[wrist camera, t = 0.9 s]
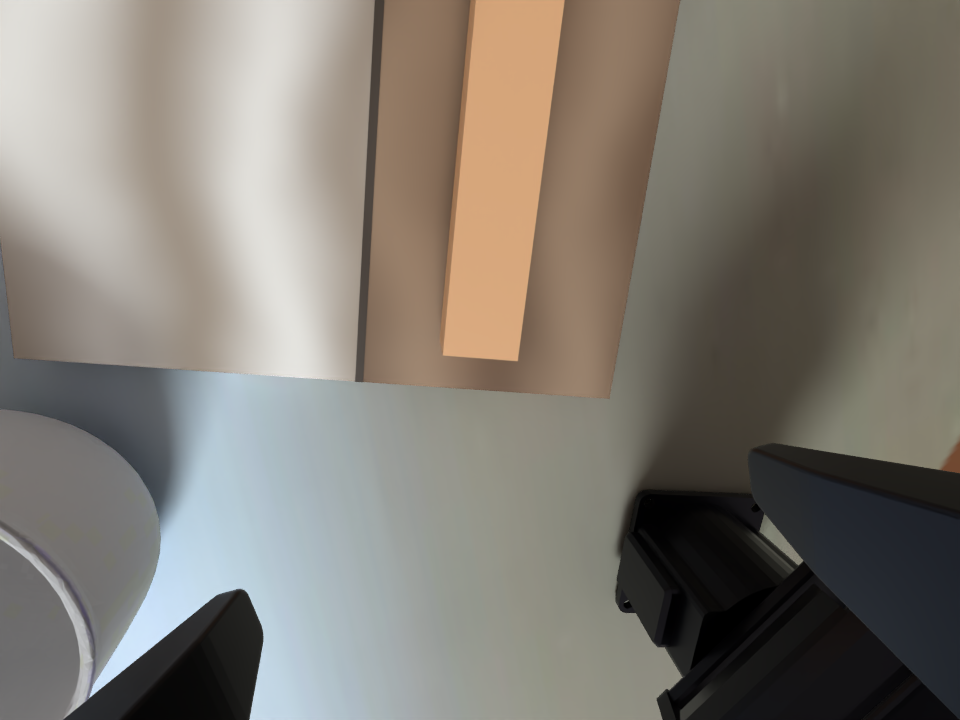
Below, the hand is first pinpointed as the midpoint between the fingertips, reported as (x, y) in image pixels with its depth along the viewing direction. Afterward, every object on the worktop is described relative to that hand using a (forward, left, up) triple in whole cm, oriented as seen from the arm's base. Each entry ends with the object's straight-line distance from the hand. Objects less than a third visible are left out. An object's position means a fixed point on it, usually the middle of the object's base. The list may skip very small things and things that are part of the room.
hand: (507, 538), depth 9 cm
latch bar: (0, -9, -11) cm, 14 cm away
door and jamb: (+5, -11, -13) cm, 17 cm away
